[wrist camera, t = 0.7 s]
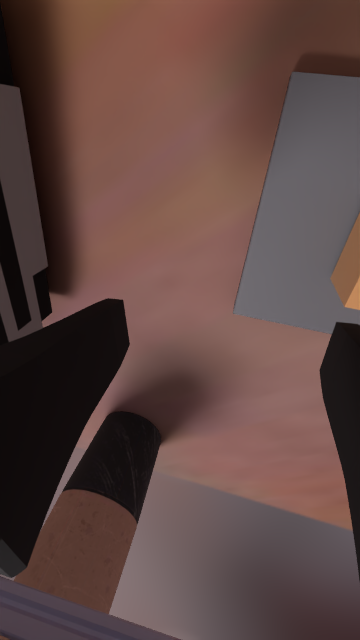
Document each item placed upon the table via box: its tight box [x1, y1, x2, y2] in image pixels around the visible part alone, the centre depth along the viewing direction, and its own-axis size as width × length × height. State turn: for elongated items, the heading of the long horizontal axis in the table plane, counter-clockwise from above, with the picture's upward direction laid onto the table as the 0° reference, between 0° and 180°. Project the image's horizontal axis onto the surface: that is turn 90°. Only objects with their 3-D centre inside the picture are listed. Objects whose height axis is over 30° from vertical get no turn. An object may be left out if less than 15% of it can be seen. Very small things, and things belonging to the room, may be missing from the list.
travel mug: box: [0, 412, 161, 640], centre depth 25 cm, size 8×8×20 cm
